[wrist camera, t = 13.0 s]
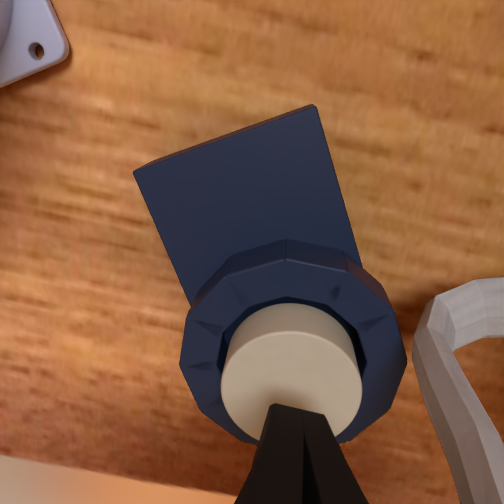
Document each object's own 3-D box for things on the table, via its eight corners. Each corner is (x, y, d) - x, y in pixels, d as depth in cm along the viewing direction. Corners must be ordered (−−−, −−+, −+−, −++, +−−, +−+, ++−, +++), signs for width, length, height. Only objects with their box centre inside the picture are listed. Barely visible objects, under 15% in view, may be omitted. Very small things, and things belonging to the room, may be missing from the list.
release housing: (238, 394, 19) (225, 468, 15) (140, 164, 16) (95, 188, 12) (397, 356, 18) (426, 427, 14) (325, 98, 15) (337, 102, 11)
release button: (252, 420, 15) (247, 460, 13) (209, 321, 14) (199, 352, 12) (368, 393, 14) (378, 433, 13) (334, 286, 13) (340, 315, 11)
